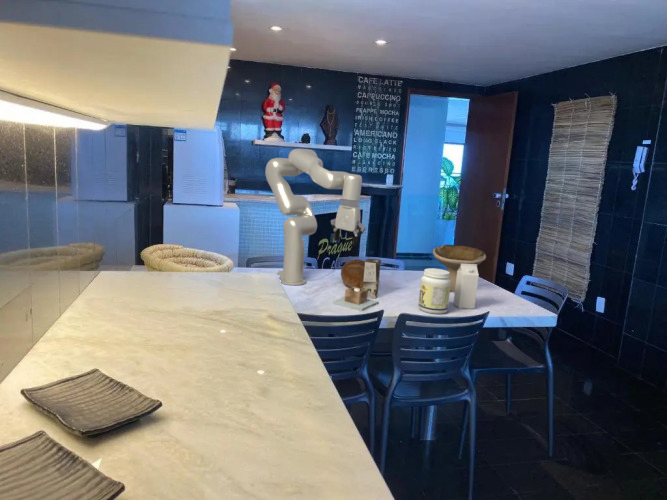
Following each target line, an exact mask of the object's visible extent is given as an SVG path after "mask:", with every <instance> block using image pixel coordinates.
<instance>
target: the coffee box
mask: <svg viewBox="0 0 667 500" xmlns="http://www.w3.org/2000/svg"><path fill="white" fill-rule="evenodd" d="M381 261H382V259H379V258H366V260H365V261H364V262H365V269H364V280H363V289H366V290H368V297H367V299H373V300H375V299H376V298H377V296H378V295H379V286H380V276H381V275H380V273H381V272H380V271H381V263H382V262H381Z"/></svg>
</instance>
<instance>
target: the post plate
mask: <svg viewBox="0 0 667 500" xmlns="http://www.w3.org/2000/svg"><path fill="white" fill-rule="evenodd" d="M354 291H357V292H359V291H360V289H359V288H354ZM332 304H333V305H336V306H342V307H345V308H350V309H352V310H357V311H361V312H363V311H365V310H368V309H370V308H372V307H374V305H375V306H376V304H377V305H379V300H378V301H377V300H375V299H371V298H367V302H365V303H362V304H360V305H357V304H353V303H349V302H345V296H344V297H342V298H338V299H336V300H333V301H332ZM371 306H372V307H371ZM369 307H370V308H369ZM367 308H368V309H367Z"/></svg>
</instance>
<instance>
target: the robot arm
mask: <svg viewBox="0 0 667 500" xmlns="http://www.w3.org/2000/svg"><path fill="white" fill-rule="evenodd" d="M287 157H288V158H287ZM287 157H275V158H271V159H269V161H268V162H267V163H266V166H265V177H266V182H267V183H268V185H269V187H270V188H271V191H272V193H273V196H274V198H275V199H274V200H275V201H276V204H277V207H278V209H279V212H280V213H281V215H283V216H290V217H287V218H286V219H285V220H284V221H283V225H282V230H283V236H284V240H283V241H284V243H283V244H284V245H283V246H284V248H283V267H282V268H283V269H282V270H278V272H277V273H276V275H277V276H280V278H279V279H280V280H281V282H282V283H281V284H283V285H288V286H301V285H304V284H306V282H307V280H306V279H305V278H303V277H304V265H305V242H304V239H303V237H304V236H312V235H314V234H315V233H316V232H317V228H318V222H317V218H316V217H315V214H314V211H313V208H312V206H311V203H310V201H309V200H308V199H307V197H305V195H304V196H303V195H299V194H294V193H293V191H292V189H291V188H292V187H291V186H290V184H289V183H288V182H287V181H286V179H284V177H296V176H299V175H301V174H303V173H305V174H307V175H309V177H310V179H311V180H312V182H314V183H315V184H316V185H319V186H321V187H322V188H324V189H327V190H342V196H341V198H340V199H339V203H340V205H339V206H338V209H337V212H336V217H335V218H334V219H331V220H330V224H331V228H332V229H333V232H334V233H333V240H334V242H337V241H340V237H341V236H340V234H341V231H340V230H344V231H348V232H353V234H354V236H353V239H352V240H353V241H352V245H353V246H358V245H359V242H360V236H362V235H363V234H364V232H365V231H366V229H367V227H366V226H365V225H364V224H362V222H361V208H360V201H361V200H360V199H361V193H362V191H361V190H362V184H363V177H362V175H360V174H355V173H349V172H346V171H339V170H338V171H336V170H328V169H326V168H324V162H323V160H322V159H321V158H319V157H318V154H317V153H316V152H315V151H314V150H313V149H309V148H308V149H307V148H294V149H292V150H291V151H290V152H289V153H288V156H287Z"/></svg>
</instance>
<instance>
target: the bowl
mask: <svg viewBox="0 0 667 500" xmlns="http://www.w3.org/2000/svg"><path fill="white" fill-rule="evenodd" d="M432 253H433V256H434V258H435V260H436V261H437V262H438V263H440V264H441V265H443V266H444V267H445V268H446V271H448V272H449V273H450V274H449V275H450V277H449V279H450V281H451V285H450V293H455V286H456V278H457V270H458V269H459V268H460V266H461V264H477V267H478V266H479V265H481V263H483V261H485V260H486V258H487V256H486V253H485V251H483V250H481V249H479V248H477V247H472V246H468V245H467V246H466V245H456V244H443V245H441V246H440V245H439V246H437V247H434V249H433V250H432Z"/></svg>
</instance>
